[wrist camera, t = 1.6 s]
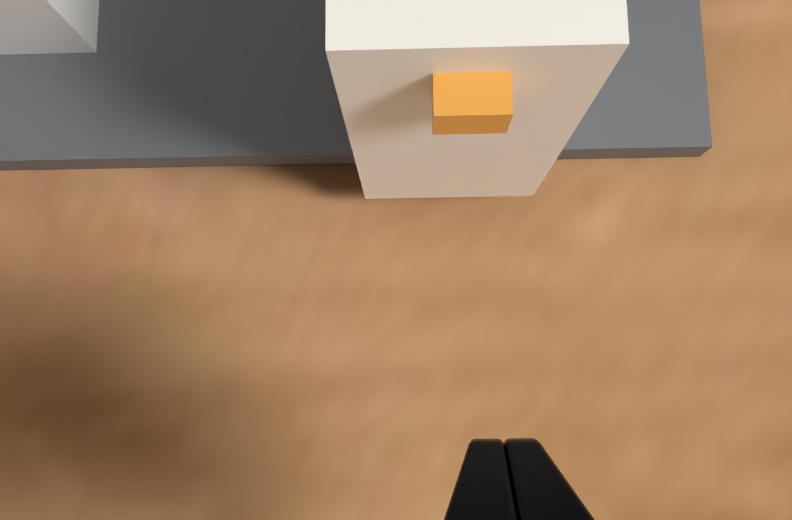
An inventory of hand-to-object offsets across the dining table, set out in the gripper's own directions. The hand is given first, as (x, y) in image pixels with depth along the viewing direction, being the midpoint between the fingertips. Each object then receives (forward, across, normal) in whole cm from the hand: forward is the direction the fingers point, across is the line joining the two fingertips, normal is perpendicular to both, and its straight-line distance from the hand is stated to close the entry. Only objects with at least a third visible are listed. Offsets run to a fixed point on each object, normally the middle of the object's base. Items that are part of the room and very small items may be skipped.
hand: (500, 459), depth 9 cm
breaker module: (+15, 0, +2) cm, 15 cm away
